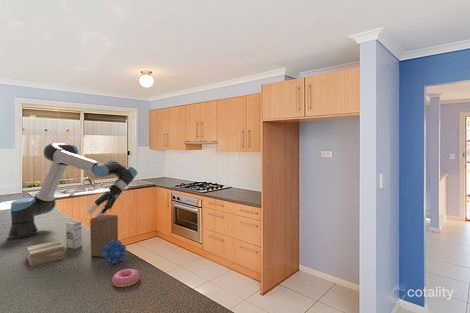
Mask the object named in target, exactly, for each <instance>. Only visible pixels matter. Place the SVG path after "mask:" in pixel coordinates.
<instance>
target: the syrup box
mask: <svg viewBox="0 0 470 313" xmlns="http://www.w3.org/2000/svg"><path fill="white" fill-rule="evenodd" d="M82 228H83V227H82V221H80V220H70V221H68V222H66V223H65V231H66V233H65V236H66V248H67V249H72V250H75V249H78V248H80V247H83V233H82V232H83V230H82Z"/></svg>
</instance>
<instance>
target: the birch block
mask: <svg viewBox="0 0 470 313" xmlns="http://www.w3.org/2000/svg"><path fill="white" fill-rule="evenodd" d="M25 248H26V260H27V261H28V263H29V265H30V267H34V266H37V265H38V266H39V265H41V264H45V263H50V262H53V261H57V260H61V259H65V258H66V254H65V253H66V251H65V246H64V244H62V242H61V241H60V240H53V241H48V242H43V243H39V244H35V245H34V244H33V245H30V246H26V247H25Z"/></svg>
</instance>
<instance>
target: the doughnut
mask: <svg viewBox="0 0 470 313" xmlns="http://www.w3.org/2000/svg"><path fill="white" fill-rule="evenodd" d="M140 275H141V274H140V271H138V270H137V269H133V268H125V269H122V270H119V271H117V272H115V273H114V275H113V276H112V279H111V281H112V282H111V283H112V285H113V286H115V287H117V288H126V287H127V286H128V287H131V286H133V285H134V284H136V283H138V281H139V279H140Z"/></svg>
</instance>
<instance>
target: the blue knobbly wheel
mask: <svg viewBox="0 0 470 313" xmlns="http://www.w3.org/2000/svg"><path fill="white" fill-rule="evenodd" d="M103 248H104V250H105V251H103V252H102V256H103V257H102V258H104V262H106V263H111V264H112V265H116V264H117V263H122V262H123V261H124V257H125V256H127V251H126V249H127V247H126V245H125V244H122V241H121V240H118V241H116V242H115V241H110V242H109V245H108V244H106V245H104V247H103Z"/></svg>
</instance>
